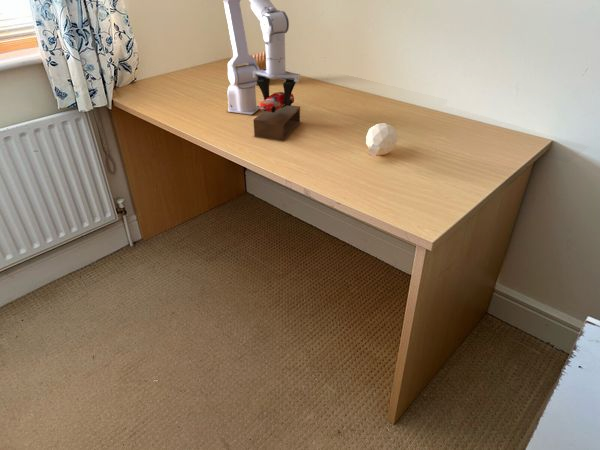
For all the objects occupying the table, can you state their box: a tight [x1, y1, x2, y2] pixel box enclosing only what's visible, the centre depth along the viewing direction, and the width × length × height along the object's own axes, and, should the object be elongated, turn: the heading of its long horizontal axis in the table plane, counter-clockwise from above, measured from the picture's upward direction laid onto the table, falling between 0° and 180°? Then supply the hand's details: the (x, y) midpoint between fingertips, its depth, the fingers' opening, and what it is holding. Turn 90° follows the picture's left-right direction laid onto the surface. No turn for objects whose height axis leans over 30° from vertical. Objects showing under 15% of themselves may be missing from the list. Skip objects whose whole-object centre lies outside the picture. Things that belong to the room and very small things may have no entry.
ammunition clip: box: [246, 50, 266, 70], centre depth 179 cm, size 11×2×12 cm, turn 137°
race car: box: [258, 91, 295, 113], centre depth 135 cm, size 13×5×4 cm, turn 140°
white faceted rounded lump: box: [365, 122, 398, 158], centre depth 123 cm, size 9×9×12 cm
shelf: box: [253, 104, 301, 142], centre depth 139 cm, size 10×16×6 cm, turn 160°
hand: (276, 102), depth 135 cm, fingers closed on race car, 6 cm apart
